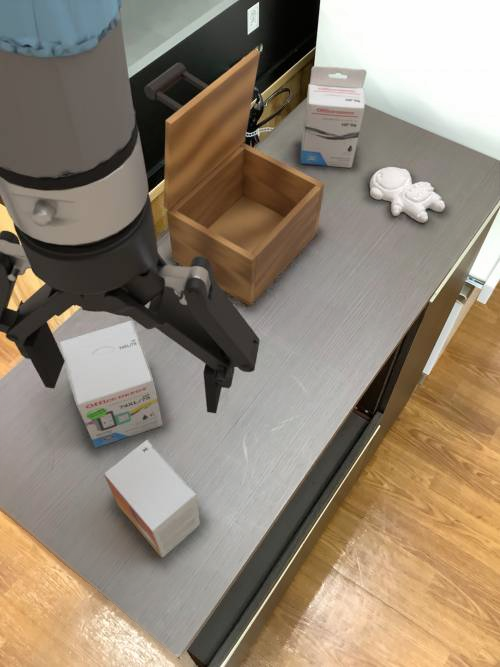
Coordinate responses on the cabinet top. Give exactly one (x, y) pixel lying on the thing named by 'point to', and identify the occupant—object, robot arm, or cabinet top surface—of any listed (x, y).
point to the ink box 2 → (332, 116)
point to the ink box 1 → (111, 383)
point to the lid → (203, 123)
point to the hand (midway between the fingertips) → (134, 386)
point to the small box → (154, 497)
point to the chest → (246, 221)
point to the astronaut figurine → (405, 193)
